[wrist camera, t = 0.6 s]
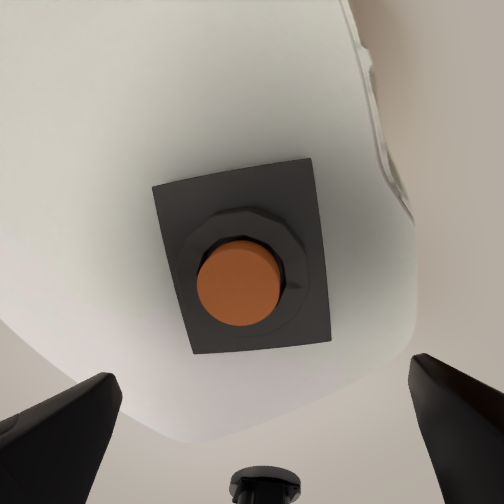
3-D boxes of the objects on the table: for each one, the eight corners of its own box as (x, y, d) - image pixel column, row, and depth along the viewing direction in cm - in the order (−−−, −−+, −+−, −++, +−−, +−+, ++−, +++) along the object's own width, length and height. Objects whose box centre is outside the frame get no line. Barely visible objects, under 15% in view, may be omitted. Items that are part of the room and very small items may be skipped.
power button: (285, 306, 17) (285, 321, 15) (213, 314, 18) (206, 329, 16) (274, 234, 16) (273, 243, 14) (197, 245, 17) (188, 255, 15)
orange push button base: (327, 324, 21) (335, 357, 17) (200, 337, 22) (186, 370, 18) (307, 158, 18) (314, 157, 14) (164, 184, 19) (137, 189, 16)
